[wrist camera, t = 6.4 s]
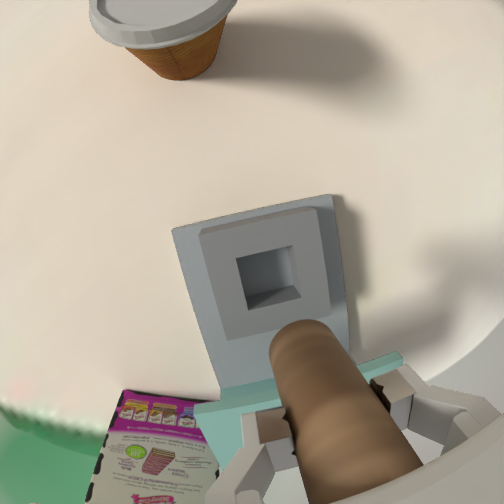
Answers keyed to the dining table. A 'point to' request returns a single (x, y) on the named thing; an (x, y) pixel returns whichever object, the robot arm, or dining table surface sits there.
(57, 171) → the dining table surface
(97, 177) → the dining table surface
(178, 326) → the dining table surface
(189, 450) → the candy bar box
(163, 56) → the disposable coffee cup
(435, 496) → the robot arm
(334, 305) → the socket station
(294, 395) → the walnut dowel
